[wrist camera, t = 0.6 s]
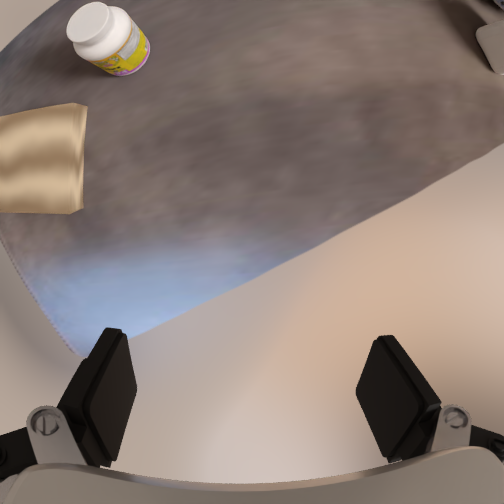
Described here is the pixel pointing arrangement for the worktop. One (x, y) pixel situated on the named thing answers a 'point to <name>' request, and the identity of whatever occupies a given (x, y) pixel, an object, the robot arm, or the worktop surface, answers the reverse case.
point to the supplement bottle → (108, 38)
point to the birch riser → (42, 160)
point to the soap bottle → (493, 44)
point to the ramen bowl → (500, 3)
